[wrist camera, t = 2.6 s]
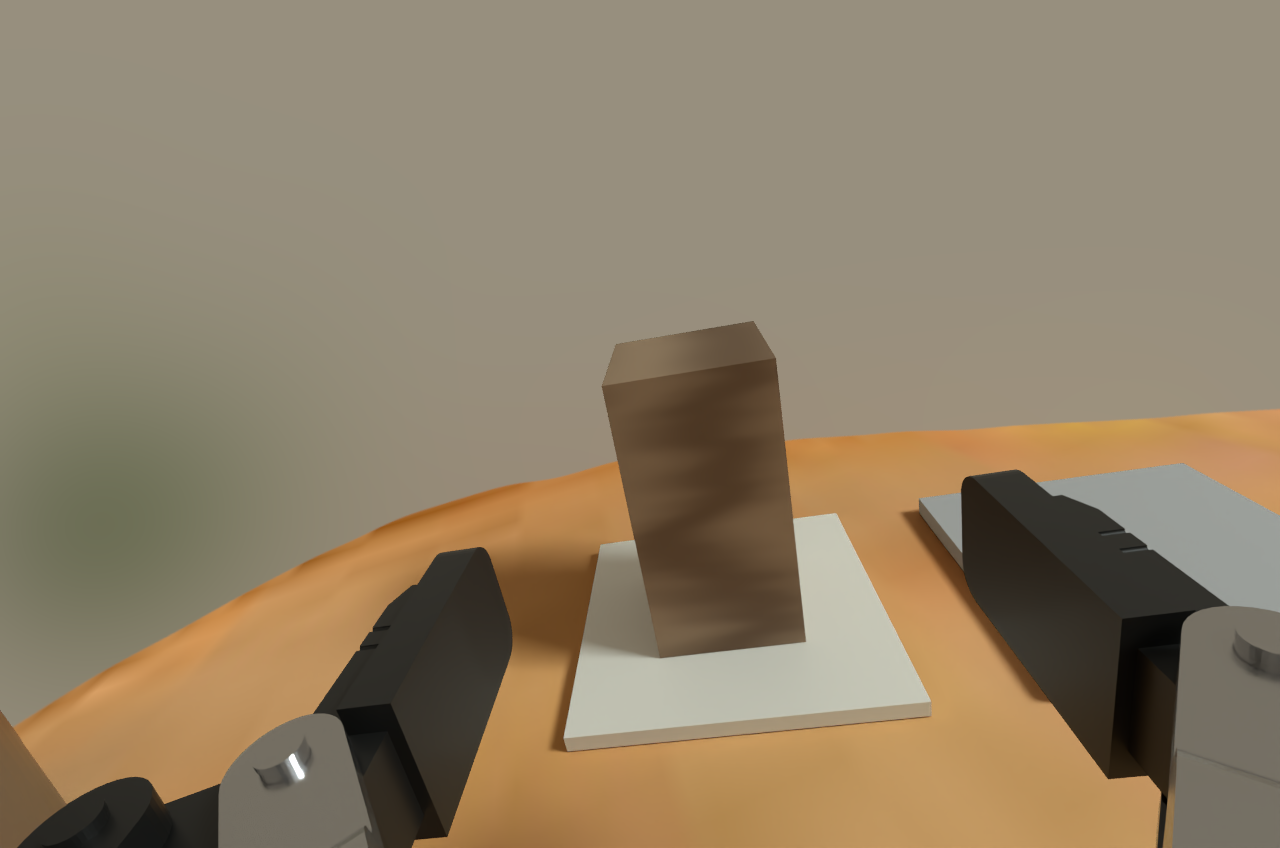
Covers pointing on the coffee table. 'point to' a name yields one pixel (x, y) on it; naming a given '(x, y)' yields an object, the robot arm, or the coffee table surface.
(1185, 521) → the grey mat
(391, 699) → the robot arm
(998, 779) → the coffee table surface
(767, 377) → the walnut block
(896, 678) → the white tile
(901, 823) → the coffee table surface
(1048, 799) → the coffee table surface
